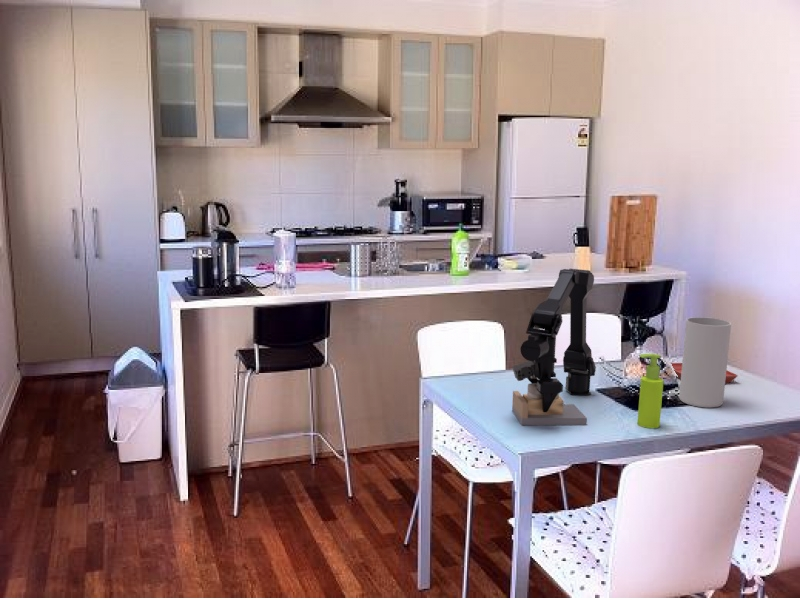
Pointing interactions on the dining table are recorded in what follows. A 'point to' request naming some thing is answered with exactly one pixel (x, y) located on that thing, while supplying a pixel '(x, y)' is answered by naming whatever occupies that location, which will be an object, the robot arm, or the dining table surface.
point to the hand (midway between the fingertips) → (541, 407)
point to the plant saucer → (678, 369)
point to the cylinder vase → (704, 361)
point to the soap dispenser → (650, 394)
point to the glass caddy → (536, 402)
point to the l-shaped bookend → (567, 418)
